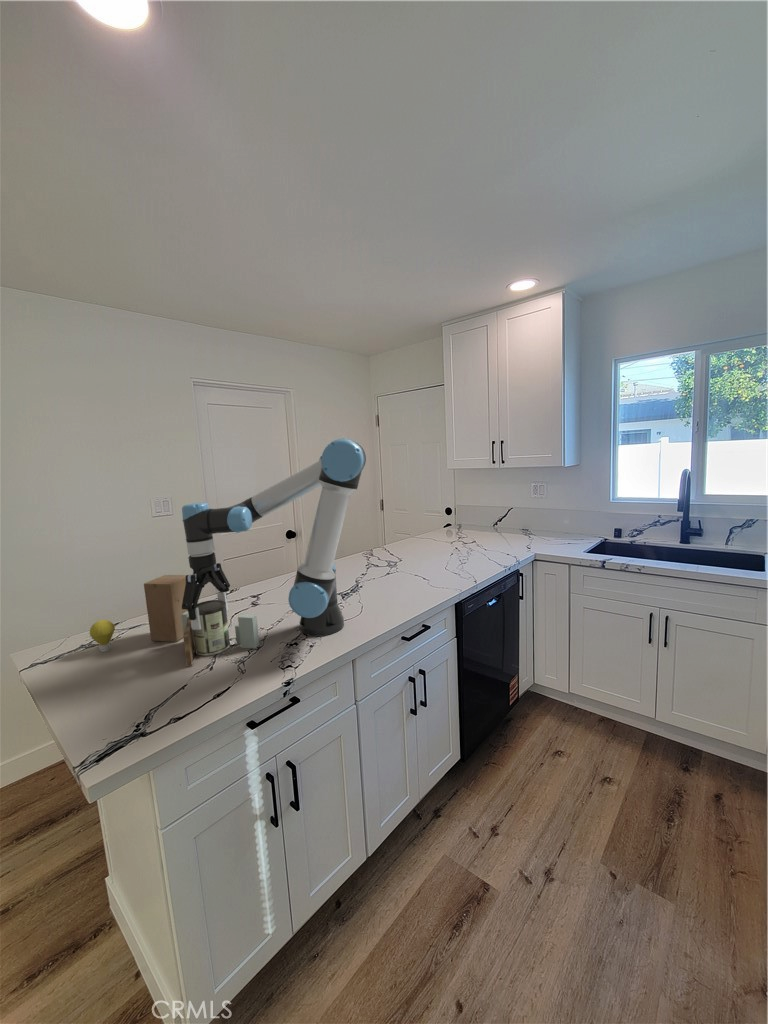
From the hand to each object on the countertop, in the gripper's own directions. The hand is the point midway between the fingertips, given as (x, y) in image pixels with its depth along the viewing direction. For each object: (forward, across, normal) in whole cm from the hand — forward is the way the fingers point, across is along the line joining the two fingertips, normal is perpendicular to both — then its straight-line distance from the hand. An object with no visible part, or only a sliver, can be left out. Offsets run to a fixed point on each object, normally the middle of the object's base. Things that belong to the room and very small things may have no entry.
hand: (210, 619), depth 131 cm
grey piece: (+9, -3, 0) cm, 10 cm away
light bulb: (+9, +6, -36) cm, 37 cm away
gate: (+9, +4, -5) cm, 11 cm away
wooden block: (+9, -7, -21) cm, 24 cm away
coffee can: (+10, 0, -1) cm, 10 cm away
